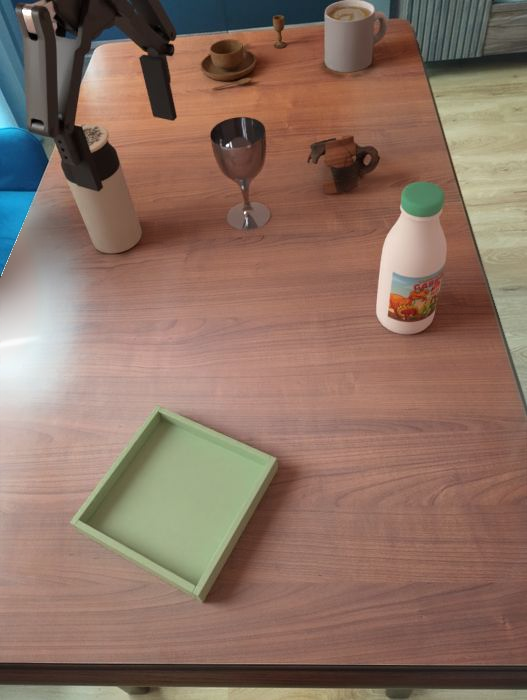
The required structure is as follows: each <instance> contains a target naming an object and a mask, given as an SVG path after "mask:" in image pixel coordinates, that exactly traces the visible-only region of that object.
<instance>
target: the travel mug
mask: <svg viewBox="0 0 527 700" xmlns="http://www.w3.org/2000/svg"><path fill="white" fill-rule="evenodd" d="M75 125H76V126H81V127H82V128H83V131H84V133H85V136H86V139H87V142H88V145H89V148H90V151H91V154H92V156H93V159H94V162H95V165H96V168H97V171H98V174H99V176H100V179H101V182H102V185H103V188H102V189H101V190H100V191H99V192H98V191H94V190H91V189H87V188H84V187H80V186H77V184H76V181H75V179H74V176H73V173H72V171H71V168H70V166H69V164H67V163H64V162H63V160H62V159H61V161H60V167H61V169H62V172H63V174H64V177H65V179H66V182H67V184H68V187H69V189H70V191H71V194H72V197H73V198H74V201H75V203H76V206H77V208H78V210H79V211H78V212H79V213H80V215H81V218H82V220H83V223H84V225H85V227H86V230H87V232H88V235H89V237H90V240H91V242H92V244H93V246H94V248H95V249H96V250H97V251H99V252H101V253H103V254H118V253H122V252H125V251H128V250H130V249H132V248H133V247H134V246H135V245H137V244H138V243H139V242H140V240H141V238H142V235H143V230H142V227H141V225H140V221H139V218H138V215H137V211H136V208H135V205H134V202H133V199H132V196H131V193H130V189H129V186H128V183H127V181H126V177H125V174H124V170H123V168H122V164H121V161H120V159H119V155H118V152H117V149H116V148H115V147H114V146H113V145H112V144H111V143H110V142H109V137H110V133H109V130H108V129H107V127H105V126H103V125H101V124H98V123H94V122H93V123H92V122H91V123H90V122H89V123H88V122H87V123H81V124H75ZM54 148H55V150H56V151H57V152H58V149H57V147H56V144H55V143H54Z"/></svg>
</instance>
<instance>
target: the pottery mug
mask: <svg viewBox="0 0 527 700" xmlns="http://www.w3.org/2000/svg"><path fill="white" fill-rule="evenodd" d="M309 148H310V153H309V155H308V156H307V161H306V163H307V164H309V163H310V162H311V163H313V164H314V165H317V164H318V162H319V159H320V158H321V157H323V156H324V158H323V163H324V165H325V166H326V167H327V168H330V169H329V170H330V171H331V174H332V177H333V178H330V179H326V180H323V181H322V186H323V189H324V193H325V194H326V195H328V194H329V195H331V194H336V193H343V192H344V193H345V192H349V191H352V190H353V191H354V190H356V189H358V187H359V181H360V179H365V178H364V177H365V176H366V175H367V174H370V173H372V172H374V170H375V169H376V168H377V167H378V165H379V163H380V160H381V157H380V155H379V150H378V149H377V148H376V147H374V146H372V145H365V146H360V145H358V144H357V143H356V142H355V136H354V135H343V136H342V137H341V138H336V137H333V138H328V139H324V140H320V141H316V142H313V143H311V144H309ZM367 155H369V156H370V161H369V162H368V164H365V159H366V157H367ZM354 157H355V159H353V158H354Z"/></svg>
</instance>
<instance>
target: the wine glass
mask: <svg viewBox="0 0 527 700" xmlns="http://www.w3.org/2000/svg"><path fill="white" fill-rule="evenodd" d="M209 137H210V144H211V149H212V153H213V155H214V156H213V157H214V158H215V161H216V162H215V163H216V164H217V166H218V169H219V170H220V172H221V173H222V174H223V175H224V176H225V177H226V178H228V179H230V180H231V181H232V182H234V183H236V184H237V185H238V187H239V189H240V191H241V193H242V198H243V202H241V203H239V204H236V205H234V206H233V207H232V208H230V210H229V211H228V212H227V215H226V221H227V223H228V225H230V226H231V227H232V228H233V229H236V230H239V231H253V230H258V229H261V227H263V226H264V225H267V223H268V222H269V221H270V220H271V219H270V218H271V211H270V209H269V207H267V206H266V205H265V204H263V203H260V202H257V201H250V186H251V184H252V182H253V181H254V179H255V178H257V176H259V174H260V173H261V172H262V170H263V169H264V166H265V162H266V156H267V147H268V145H267V132H266V127H265V125H264V123H262V122H261V121H260V120H258V119H256V118H254V117H248V116H236V117H231V118H226V119H224V120H222V121H220V122H218V123H216V125H215V126H214V127H212V129H211V131H210V134H209Z"/></svg>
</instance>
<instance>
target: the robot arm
mask: <svg viewBox="0 0 527 700" xmlns="http://www.w3.org/2000/svg"><path fill="white" fill-rule="evenodd" d="M15 15H16V16H15V17H16V19H17V22H18V26H19V29H20V32H21V37H22V50H23V71H24V88H25V89H24V91H25V111H26V112H25V113H26V126H27V127H26V128H27V130H28V132H29V133H30V134H33V135H34V134H35V135H39V136H41V137H46V138H51V139H53V141H54V145H55V144H56V147H57V149H58V151H57V152H58V154H59V156H60V159H61V160H63V162H64V163H67V164H69V166H70V168H71V171H72V173H73V176H74V179H75V181H76V184H77V186H80V187H84V188H87V189H91V190H94V191H98V192H99V191H100V190H101V189H102V188H103V185H102V182H101V179H100V176H99V174H98V171H97V168H96V165H95V162H94V159H93V156H92V154H91V151H90V148H89V145H88V142H87V139H86V136H85V133H84V131H83V128H82V127H81V126H76V125H77V124H76V119H77V111H78V105H79V97H80V92H81V84H82V78H83V71H84V64H85V57H86V55H87V54H89V53H90V51H91V48H92V42H93V41H94V40H96V39H97V38H99V37H100V35H101V34H102V32H104V31H105V30H110V29H112V28H113V27H116V28H117V29H118V30H120V31H121V32H122V33H123V34H124V35H125V36H126V37H127V38H128V39H130V41H132V42H133V43H134V44H135V45H136V46H137V47H138V48H139V49H141V50H142V51H143V52H145V53H147V54H142V55H141V56H139V57H138V59H139V63H140V67H141V71H142V72H141V73H142V75H143V79H144V84H145V88H146V92H147V93H146V94H147V96H148V101H149V105H150V109H151V113H152V117H154V118H158V119H163V120H167V121H172V122H174V121H175V120H176V119H177V118H178V115H177V110H176V106H175V100H174V97H173V92H172V91H173V90H172V87H171V83H172V82H171V79H172V77H171V72H170V68H169V62H168V57H173V56H174V54H175V45H174V44H173V43H171V42H174V41H175V40H176V39H177V30H176V28H175V26H174V25H173V23H172V21H171V18H170V17H169V15H168V13H167V12H166V10H165V8H164V6H163V5H162V3H161V1H160V0H39V1H36V2H34V3H24V2H18V3H17V4H16V6H15ZM67 33H68V34H70V35H71V36H72V37H73V38H70V37H66V35H67ZM59 115H60V116H61V117H59Z"/></svg>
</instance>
